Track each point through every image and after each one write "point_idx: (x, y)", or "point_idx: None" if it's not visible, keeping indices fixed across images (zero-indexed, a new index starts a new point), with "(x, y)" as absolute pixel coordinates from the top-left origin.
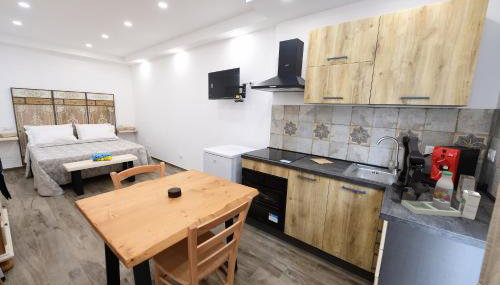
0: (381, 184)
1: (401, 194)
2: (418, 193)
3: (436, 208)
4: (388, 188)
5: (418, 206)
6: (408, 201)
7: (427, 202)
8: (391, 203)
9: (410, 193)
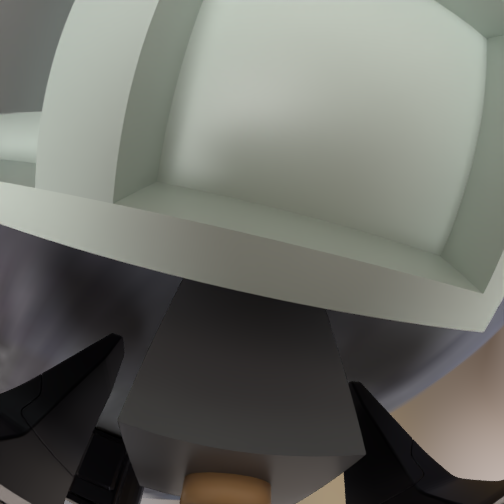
0: (177, 499)
1: (418, 455)
2: (37, 443)
3: (46, 14)
4: None
5: (222, 176)
6: (446, 281)
7: (11, 191)
8: (464, 331)
9: (239, 499)
